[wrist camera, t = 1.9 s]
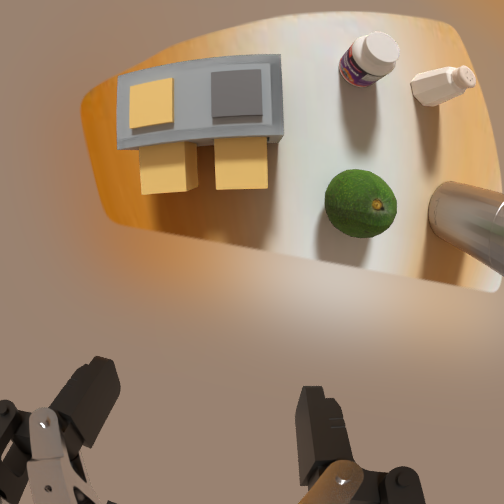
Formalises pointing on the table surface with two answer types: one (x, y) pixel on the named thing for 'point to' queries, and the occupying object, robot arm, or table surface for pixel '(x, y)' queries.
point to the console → (201, 101)
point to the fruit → (360, 203)
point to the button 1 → (168, 167)
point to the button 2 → (241, 163)
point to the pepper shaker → (442, 84)
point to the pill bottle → (369, 59)
